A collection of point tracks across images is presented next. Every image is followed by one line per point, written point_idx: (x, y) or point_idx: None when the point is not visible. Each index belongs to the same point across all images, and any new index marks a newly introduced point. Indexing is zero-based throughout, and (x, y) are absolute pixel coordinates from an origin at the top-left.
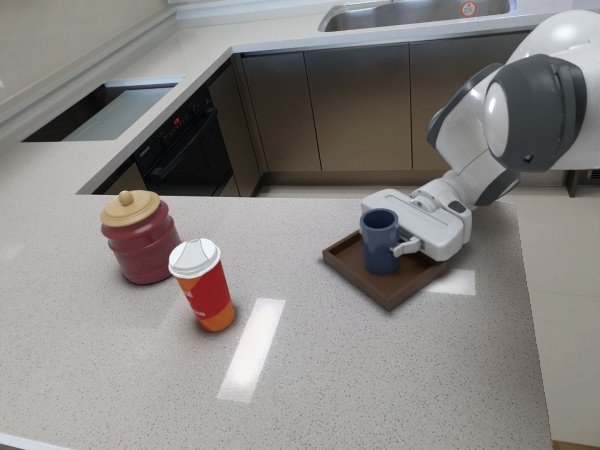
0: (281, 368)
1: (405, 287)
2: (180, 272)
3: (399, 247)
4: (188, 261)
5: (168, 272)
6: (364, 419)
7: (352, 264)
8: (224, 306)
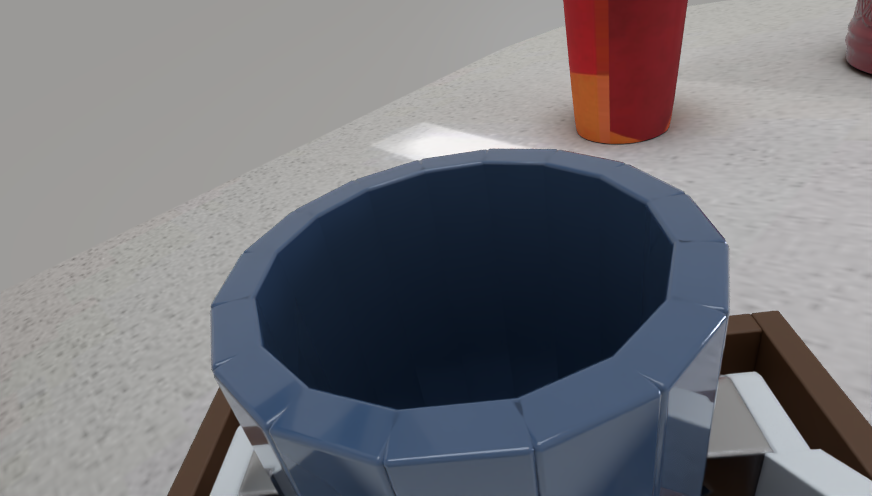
0: None
1: (183, 478)
2: None
3: (227, 455)
4: None
5: (869, 57)
6: (155, 238)
7: None
8: (575, 67)
